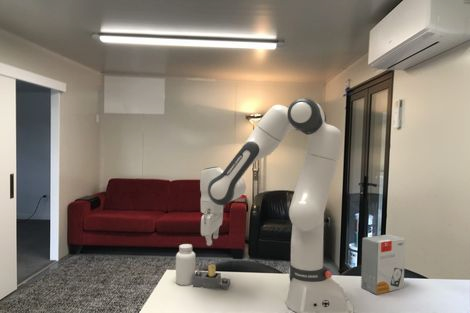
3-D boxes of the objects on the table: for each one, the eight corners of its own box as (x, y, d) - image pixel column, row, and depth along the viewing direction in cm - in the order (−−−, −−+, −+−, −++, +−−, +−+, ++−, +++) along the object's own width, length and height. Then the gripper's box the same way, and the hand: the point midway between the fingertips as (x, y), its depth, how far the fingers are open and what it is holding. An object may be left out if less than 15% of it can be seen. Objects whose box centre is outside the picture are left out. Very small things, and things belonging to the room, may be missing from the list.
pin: (216, 283, 127) (216, 264, 127) (214, 287, 124) (214, 267, 124) (209, 283, 127) (209, 263, 127) (207, 286, 124) (207, 266, 124)
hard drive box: (376, 295, 117) (376, 242, 116) (360, 287, 124) (360, 237, 123) (404, 288, 123) (405, 238, 123) (388, 280, 130) (388, 233, 130)
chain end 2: (230, 283, 127) (230, 276, 127) (227, 289, 121) (227, 282, 121) (206, 281, 129) (206, 274, 129) (202, 287, 123) (202, 280, 123)
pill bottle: (191, 286, 124) (191, 249, 124) (172, 284, 126) (172, 248, 126) (197, 278, 132) (197, 243, 132) (180, 277, 134) (180, 242, 133)
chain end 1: (220, 282, 128) (220, 271, 128) (217, 288, 122) (217, 276, 122) (197, 280, 130) (197, 269, 130) (192, 286, 124) (192, 274, 124)
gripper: (212, 212, 114) (213, 249, 114) (225, 203, 134) (225, 235, 134) (196, 212, 115) (197, 249, 116) (210, 203, 135) (211, 234, 136)
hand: (212, 241), depth 125 cm, fingers open, 8 cm apart
